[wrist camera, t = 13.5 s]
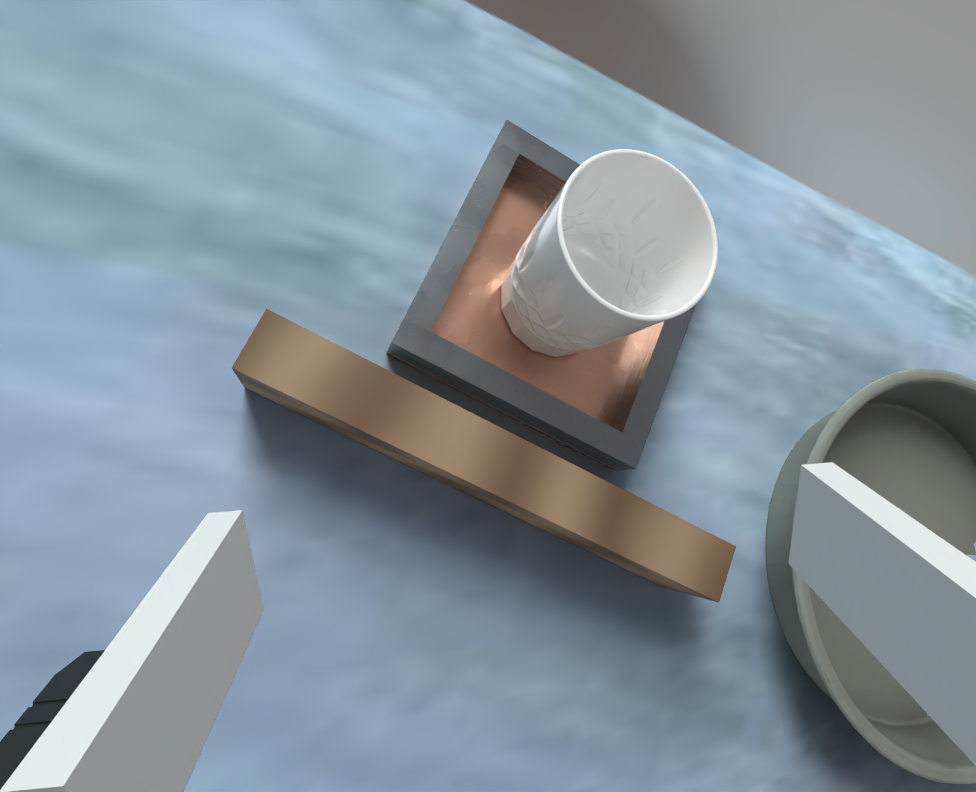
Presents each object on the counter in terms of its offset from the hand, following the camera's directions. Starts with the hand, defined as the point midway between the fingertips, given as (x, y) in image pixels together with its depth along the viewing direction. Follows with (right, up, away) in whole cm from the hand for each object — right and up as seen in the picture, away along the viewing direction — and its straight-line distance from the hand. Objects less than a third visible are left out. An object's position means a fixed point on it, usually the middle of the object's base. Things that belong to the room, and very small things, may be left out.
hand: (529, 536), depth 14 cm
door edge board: (-1, -1, +19) cm, 19 cm away
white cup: (+3, +9, +21) cm, 23 cm away
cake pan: (+27, -8, +26) cm, 38 cm away
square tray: (+3, +9, +22) cm, 24 cm away
